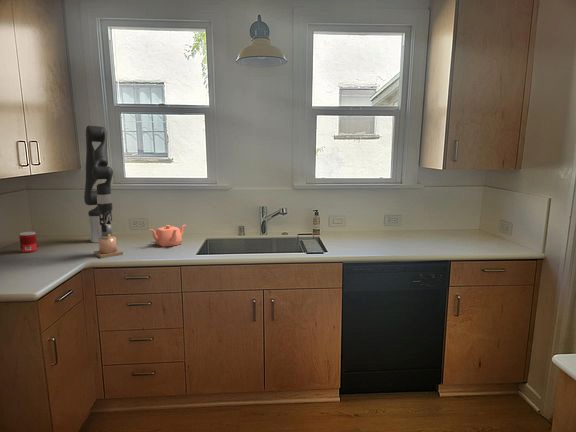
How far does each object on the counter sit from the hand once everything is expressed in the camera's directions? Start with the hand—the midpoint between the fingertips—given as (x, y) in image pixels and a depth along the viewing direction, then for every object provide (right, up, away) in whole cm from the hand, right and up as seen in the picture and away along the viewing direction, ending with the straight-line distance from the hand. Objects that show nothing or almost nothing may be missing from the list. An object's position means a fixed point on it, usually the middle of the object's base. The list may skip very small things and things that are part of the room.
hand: (106, 230), depth 214 cm
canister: (0, -14, +2) cm, 14 cm away
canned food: (-48, -13, +6) cm, 50 cm away
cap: (0, -3, +1) cm, 3 cm away
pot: (+28, -10, +26) cm, 39 cm away
